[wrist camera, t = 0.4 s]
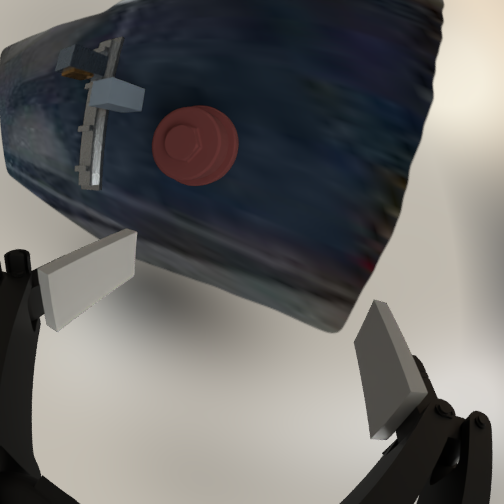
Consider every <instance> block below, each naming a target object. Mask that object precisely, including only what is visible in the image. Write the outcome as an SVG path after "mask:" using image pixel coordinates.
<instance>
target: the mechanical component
mask: <svg viewBox="0 0 504 504" xmlns="http://www.w3.org/2000/svg"><path fill="white" fill-rule="evenodd" d="M152 152H153V157H154V160H155V162H156V164H157V166H158V167H159V169H160V170H161V171H162V172H163V173H164V174H166V175H167V176H169V177H171V178H173V179H175V180H176V181H178V182H180V183H182V184H185V185H190V186H199V185H205V184H209V183H212V182H214V181H216V180H218V179H220V178H221V177H223V176H224V175H225V174H226V173H227V172H228V171H229V169H230V168H231V167H232V165H233V163H234V161H235V159H236V156H237V153H238V135H237V131H236V129H235V127H234V125H233V123H232V122H231V120H230V119H229V118H228V117H227V116H226V115H225V114H223V113H222V112H220V111H219V110H217V109H215V108H212V107H209V106H201V105H200V106H192V107H183V108H179V109H177V110H174V111H172V112H171V113H169V114H168V115H167V116H166V117H164V118H163V120H162V121H161V122H160V123H159V125H158V126H157V128H156V130H155V133H154V136H153V141H152Z"/></svg>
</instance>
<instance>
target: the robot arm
mask: <svg viewBox="0 0 504 504" xmlns="http://www.w3.org/2000/svg"><path fill="white" fill-rule="evenodd" d="M136 239H137V232H136V231H133V230H129V229H124V230H122V231H119V232H117V233H115V234H112V235H110V236H107V237H105V238H103V239H100V240H98V241H96V242H94V243H91V244H89V245H87V246H84V247H82V248H80V249H78V250H75V251H73V252H71V253H69V254H67V255H64V256H62V257H60V258H57V259H56V260H53V261H51V262H49V263H47V264H45V265H43V266H41V267H39V268H37V269H35V270H33V271H31V262H30V254H29V252H28V251H26V250H22V249H16V250H12V251H9V252H7V253H6V254H5V255H4V258H5V265H6V272H7V273H6V272H3V271H2V269H1V263H0V504H80V503H78V502H77V501H76V500H75V499H74V498H72V497H71V496H69V495H68V494H66V493H65V492H64V491H62V490H61V489H60V488H58V487H57V486H56V485H54V484H53V483H52V482H50V481H49V480H48V479H47V478H45V477H44V476H42V477H41V473H40V470H39V467H38V464H37V462H36V460H35V458H34V454H33V446H32V445H33V444H32V389H33V375H34V364H35V356H36V349H37V342H38V335H39V330H40V325H41V323H40V316H42V315H43V314H45V319H46V324H47V325H48V326H49V327H50V328H52V329H53V330H55V331H56V332H58V331H60V330H61V329H62V328H63V327H65V326H66V325H67V324H69V323H70V322H71V321H72V320H74V319H75V318H77V317H78V316H79V315H81V314H82V313H83V312H85V311H86V310H87V309H89V308H90V307H91V306H93V305H94V304H96V303H97V302H98V301H100V300H101V299H102V298H104V297H105V296H107V295H108V294H109V293H111V292H112V291H114V290H115V289H116V288H117V287H119V286H120V285H122V284H123V283H125V282H126V281H127V280H129V279H131V278H132V277H133V276H134V269H135V252H136ZM354 345H355V349H356V355H357V359H358V364H359V370H360V375H361V380H362V386H363V391H364V397H365V403H366V409H367V416H368V423H369V431H370V438H371V439H379V440H387V439H388V438H389V437H390V436H391V435H392V434H393V433H394V432H395V431H396V435H397V439H396V440H395V441H394V442H393V443H392V444H391V445H390V446H389V447H388V448H387V449H386V450H385V451H384V452H383V453H382V454H383V456H382V458H381V459H380V460H379V461H378V463H377V464H376V465H375V466H374V467H373V469H372V470H371V471H370V472H369V473H368V474H367V476H366V477H365V478H364V479H363V480H362V481H361V482H360V483H359V484H358V485H357V486H356V488H355V489H354V490H353V491H352V492H351V493H350V494H349V495H348V496H347V497H346V498H345V499H344V500H343V501H342V502H341V503H340V504H414V502H415V501H416V499H417V498H418V496H419V498H418V501H417V504H489V501H490V492H491V480H492V429H491V423H490V421H489V419H488V417H487V416H486V415H485V414H484V413H481V412H479V411H473V412H472V413H471V414H470V415H469V417H467V418H466V419H464V418H461V417H458V416H455V411H454V409H453V407H452V406H451V405H450V404H449V403H448V402H447V401H444V400H442V399H438V398H437V396H436V393H435V391H434V388H433V386H432V384H431V381H430V379H428V375H427V373H426V370H425V368H424V366H423V364H422V363H421V361H420V360H419V359H418V358H417V357H416V356H415V355H412V354H411V352H410V350H409V348H408V345H407V343H406V341H405V339H404V337H403V335H402V333H401V331H400V329H399V327H398V325H397V323H396V321H395V319H394V317H393V315H392V313H391V311H390V309H389V307H388V305H387V303H385V302H381V301H377V300H374V301H373V303H372V305H371V307H370V310H369V312H368V314H367V316H366V318H365V320H364V322H363V325H362V327H361V329H360V331H359V333H358V335H357V337H356V339H355V341H354ZM458 461H459V462H458ZM457 462H458V464H457ZM419 494H420V495H419Z"/></svg>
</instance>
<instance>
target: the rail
mask: <svg viewBox="0 0 504 504" xmlns="http://www.w3.org/2000/svg"><path fill="white" fill-rule="evenodd" d="M123 42H124V37H119V38H115V39H111V40H108V41H105V42H101V43H100V45H99V48H97V49H94V51H93V50H90V49H88V48H85V47H83V46H80V45H77V44H75V45H72V46H70V47H67V48H65V49H63V50H61V51H60V54H59V58H58V61H57V65H56V69H55V72H59V73H62V76H65V77H69V78H74V79H78V80H84V79H87V80H91V82H90V83H87V84H85V89H87V90H89V92H88V97H87V103H86V109H85V116H84V123H83V126H79V127H78V132H82V140H81V151H80V165H79V166H75V171H79V185H81V189H88V190H102V173H103V158H104V147H105V137H106V128H107V121H108V113H109V110H107V109H102V108H96V107H91V106H89V102H90V96H91V91H92V86H93V81H98V80H102V79H106V78H111V77H114V78H115V75H116V70H117V66H118V61H119V57H120V53H121V49H122V46H123Z"/></svg>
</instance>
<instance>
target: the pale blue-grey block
mask: <svg viewBox="0 0 504 504" xmlns="http://www.w3.org/2000/svg"><path fill="white" fill-rule="evenodd" d="M144 93H145V89H143V88H141V87H138V86H136V85H133V84H130V83H128V82H125V81H122V80H119V79H117V78H114V77H111V78H106V79H102V80H98V81H93V86H92V91H91V96H90V102H89V106H91V107H96V108H102V109H107V110H112V111H117V112H122V113H126V112H138V111H142V105H143V99H144Z"/></svg>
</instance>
